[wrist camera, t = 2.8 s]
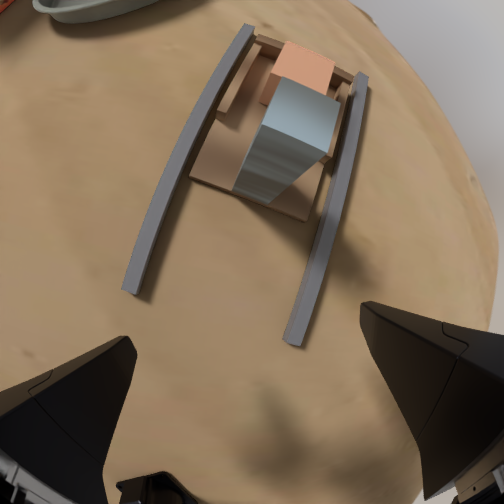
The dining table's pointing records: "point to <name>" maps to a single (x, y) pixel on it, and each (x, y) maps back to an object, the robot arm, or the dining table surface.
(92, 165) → the dining table surface
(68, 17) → the cake pan
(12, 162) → the dining table surface
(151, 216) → the lane
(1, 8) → the cracker box
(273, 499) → the dining table surface
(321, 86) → the cube
